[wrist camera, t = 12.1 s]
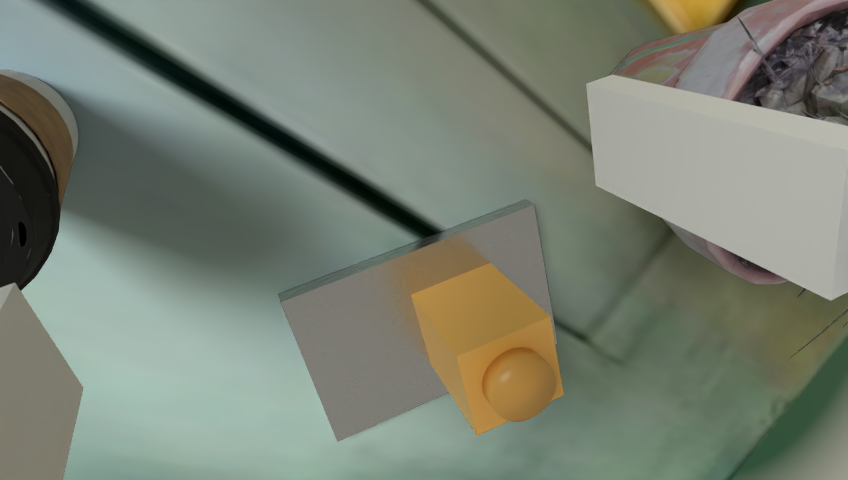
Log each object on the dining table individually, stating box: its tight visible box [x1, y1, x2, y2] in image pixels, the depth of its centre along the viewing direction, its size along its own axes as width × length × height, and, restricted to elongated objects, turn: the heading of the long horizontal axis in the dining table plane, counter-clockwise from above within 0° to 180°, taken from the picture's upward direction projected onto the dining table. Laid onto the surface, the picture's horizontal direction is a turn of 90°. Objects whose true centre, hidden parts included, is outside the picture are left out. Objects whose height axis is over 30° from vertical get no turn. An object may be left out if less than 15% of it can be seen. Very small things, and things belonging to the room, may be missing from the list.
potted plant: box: [610, 0, 848, 359], centre depth 32 cm, size 18×20×25 cm
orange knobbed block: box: [411, 263, 564, 436], centre depth 38 cm, size 6×6×10 cm
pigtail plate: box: [278, 200, 558, 442], centre depth 40 cm, size 18×12×6 cm, turn 104°
